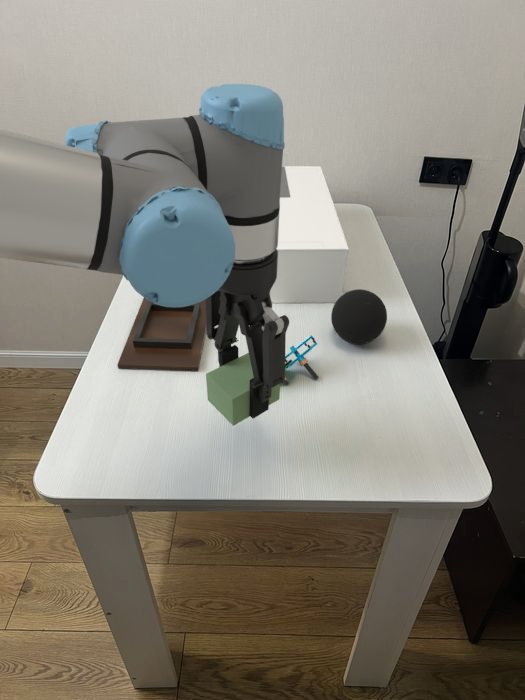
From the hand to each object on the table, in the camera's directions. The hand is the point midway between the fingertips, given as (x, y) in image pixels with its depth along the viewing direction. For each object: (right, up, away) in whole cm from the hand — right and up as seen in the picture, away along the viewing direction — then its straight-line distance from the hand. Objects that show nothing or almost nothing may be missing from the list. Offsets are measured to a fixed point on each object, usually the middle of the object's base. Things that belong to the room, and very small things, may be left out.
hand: (243, 398), depth 68 cm
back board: (-15, +10, +26) cm, 32 cm away
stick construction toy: (+8, +2, +17) cm, 19 cm away
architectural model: (+8, +31, +51) cm, 60 cm away
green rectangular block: (0, 0, 0) cm, 0 cm away
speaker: (+20, +9, +25) cm, 33 cm away
